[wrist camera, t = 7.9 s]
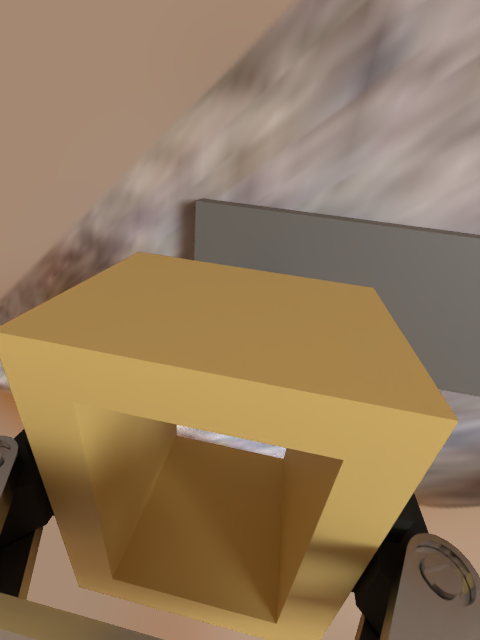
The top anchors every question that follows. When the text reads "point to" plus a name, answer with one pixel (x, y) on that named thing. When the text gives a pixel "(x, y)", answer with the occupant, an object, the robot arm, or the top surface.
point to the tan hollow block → (229, 419)
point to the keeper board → (366, 272)
